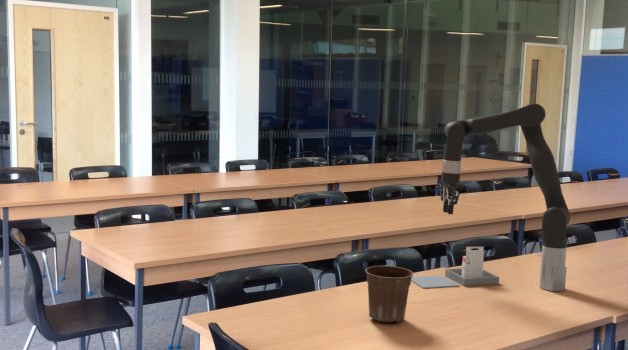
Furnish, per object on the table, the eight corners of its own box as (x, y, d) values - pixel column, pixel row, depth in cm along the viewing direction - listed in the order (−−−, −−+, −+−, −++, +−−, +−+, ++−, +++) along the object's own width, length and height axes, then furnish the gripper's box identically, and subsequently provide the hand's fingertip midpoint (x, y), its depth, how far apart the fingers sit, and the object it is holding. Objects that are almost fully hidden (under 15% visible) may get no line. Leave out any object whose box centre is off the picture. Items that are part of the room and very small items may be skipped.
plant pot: (414, 312, 248) (416, 267, 246) (407, 327, 232) (409, 279, 230) (368, 307, 252) (370, 263, 250) (359, 321, 237) (360, 274, 235)
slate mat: (459, 286, 284) (459, 285, 284) (423, 288, 279) (423, 287, 279) (440, 276, 299) (440, 275, 299) (406, 278, 294) (406, 276, 294)
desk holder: (498, 284, 289) (499, 276, 289) (463, 286, 284) (464, 278, 284) (478, 274, 304) (479, 267, 304) (445, 275, 299) (445, 269, 299)
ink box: (461, 279, 295) (462, 244, 294) (479, 278, 296) (481, 244, 295) (463, 281, 292) (465, 246, 290) (482, 281, 293) (484, 246, 291)
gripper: (467, 173, 280) (464, 216, 283) (451, 169, 294) (448, 210, 296) (450, 173, 278) (447, 216, 281) (435, 168, 292) (432, 209, 294)
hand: (447, 212), depth 288 cm, fingers open, 3 cm apart
